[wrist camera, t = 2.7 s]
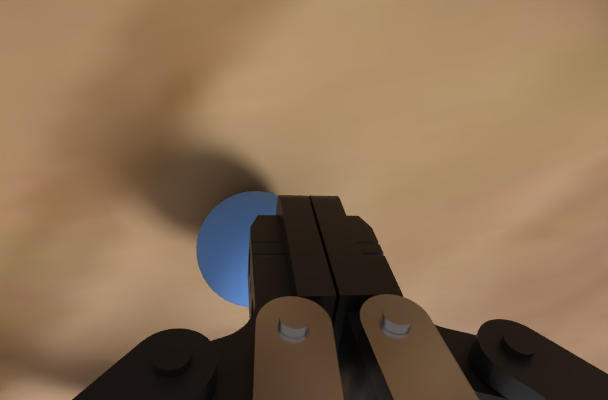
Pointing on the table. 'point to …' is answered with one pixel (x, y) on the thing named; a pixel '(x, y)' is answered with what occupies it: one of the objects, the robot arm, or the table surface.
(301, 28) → the table surface
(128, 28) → the table surface
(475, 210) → the table surface
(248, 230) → the ball
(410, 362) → the robot arm
